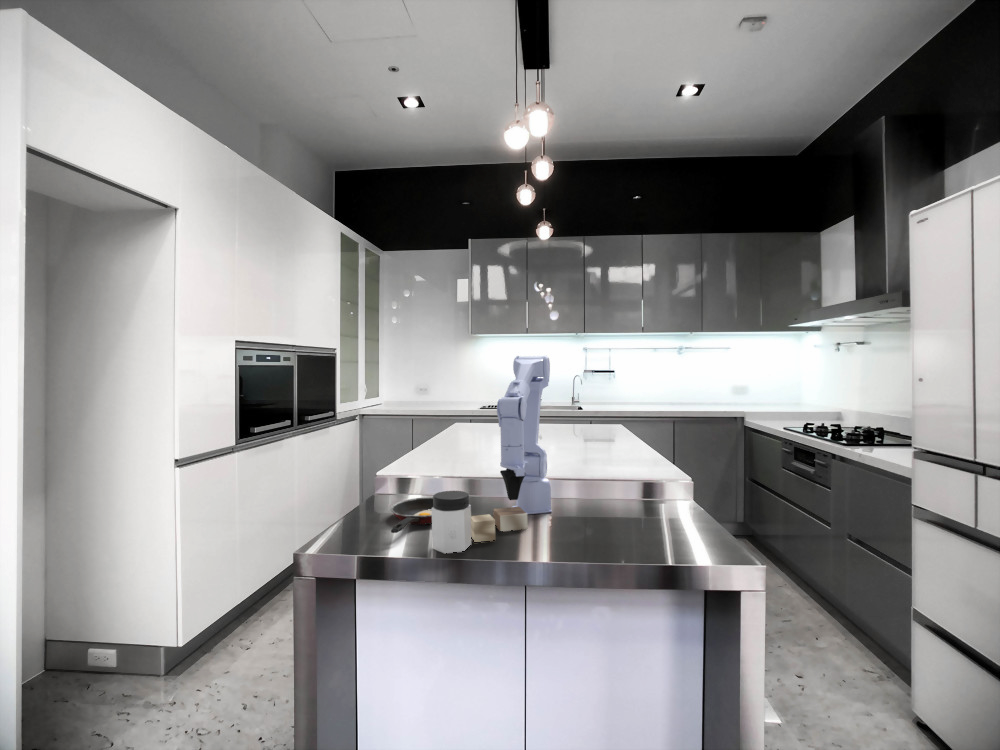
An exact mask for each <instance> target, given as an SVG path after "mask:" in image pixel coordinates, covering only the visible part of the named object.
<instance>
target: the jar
mask: <svg viewBox="0 0 1000 750" xmlns="http://www.w3.org/2000/svg"><path fill="white" fill-rule="evenodd" d="M471 506H472V505H471V504H470V494H469V493H468V492H466V491H462V490H446V491H445V490H444V491H440V492H437V493H434V494H433V507H432V524H431V538H432V539H431V541H432V542H431V544H432V545H431V546H432V547H431V548H432V550H435V551H437V552H439V553H441V554H446V553H447V554H454V553H453V552H457V553H463V552H462V551H465V550H466V549H467V548H468V547H469V546H470V545H471V546H472V539H471V516H472V507H471ZM471 546H470V547H471ZM470 547H469V548H470ZM469 548H468V549H469ZM466 551H467V550H466ZM466 551H465V552H466Z"/></svg>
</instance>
